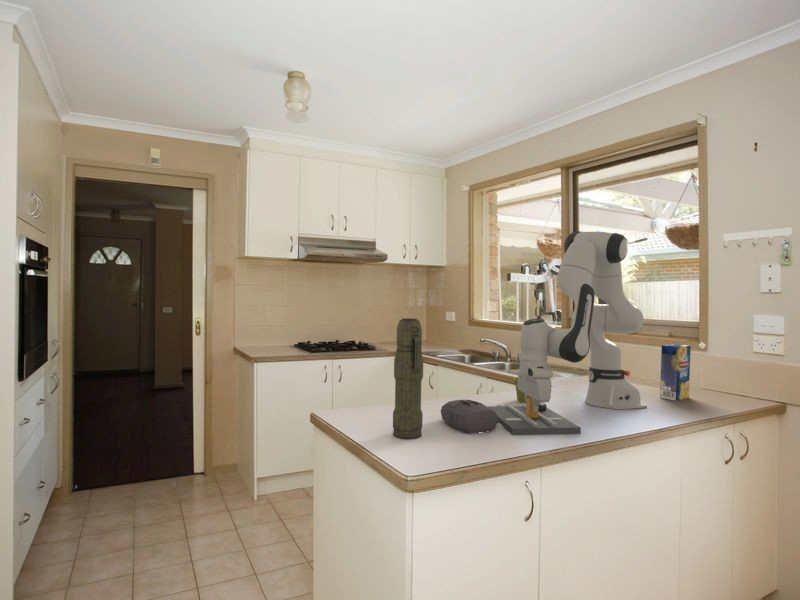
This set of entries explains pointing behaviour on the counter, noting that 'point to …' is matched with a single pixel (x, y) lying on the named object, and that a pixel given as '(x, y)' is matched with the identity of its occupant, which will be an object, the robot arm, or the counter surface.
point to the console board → (533, 421)
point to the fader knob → (528, 409)
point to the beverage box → (675, 371)
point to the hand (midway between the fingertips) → (532, 409)
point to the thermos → (408, 380)
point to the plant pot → (519, 392)
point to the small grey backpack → (469, 416)
